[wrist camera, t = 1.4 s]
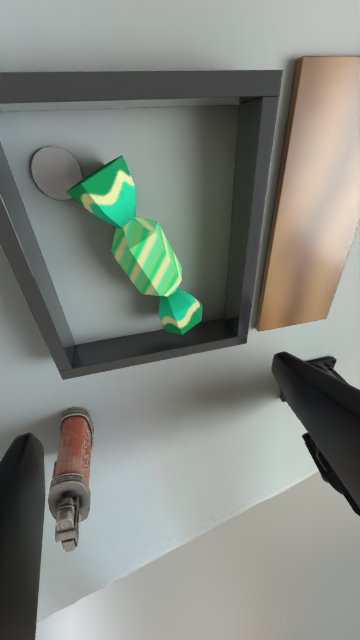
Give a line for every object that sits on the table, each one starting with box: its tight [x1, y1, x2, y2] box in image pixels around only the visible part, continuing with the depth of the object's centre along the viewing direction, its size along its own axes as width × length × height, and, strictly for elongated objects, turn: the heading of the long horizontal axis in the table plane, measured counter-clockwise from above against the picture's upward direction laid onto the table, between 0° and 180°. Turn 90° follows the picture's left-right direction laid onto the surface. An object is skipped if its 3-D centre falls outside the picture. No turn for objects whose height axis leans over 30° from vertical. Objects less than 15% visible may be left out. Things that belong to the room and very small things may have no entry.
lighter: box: [48, 408, 94, 552], centre depth 25 cm, size 8×3×10 cm, turn 172°
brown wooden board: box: [256, 56, 360, 332], centre depth 21 cm, size 8×20×1 cm, turn 3°
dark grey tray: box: [0, 70, 283, 380], centre depth 18 cm, size 16×18×3 cm
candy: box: [66, 155, 203, 335], centre depth 18 cm, size 12×3×4 cm
